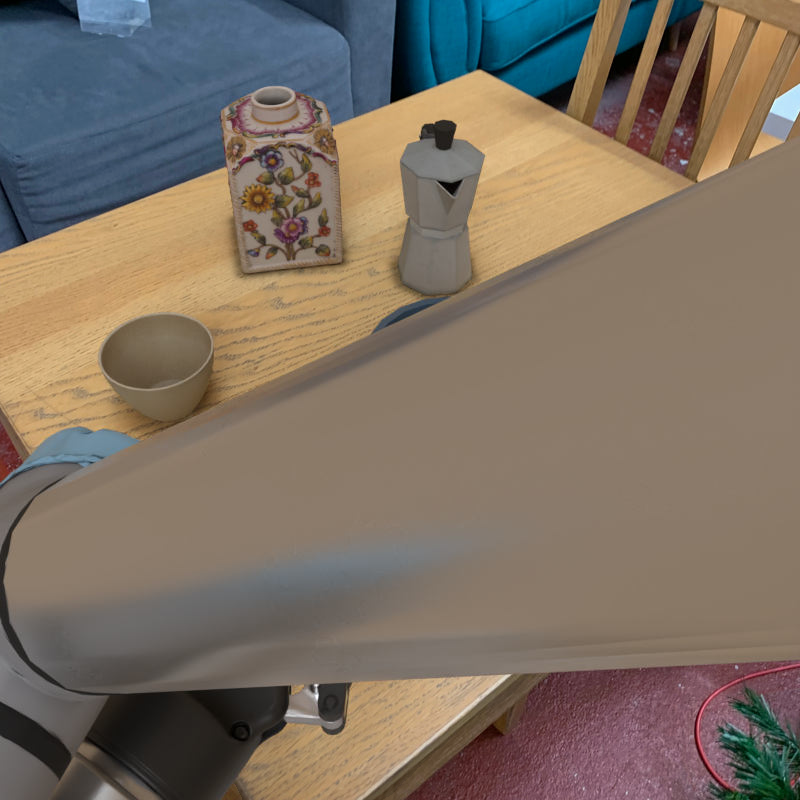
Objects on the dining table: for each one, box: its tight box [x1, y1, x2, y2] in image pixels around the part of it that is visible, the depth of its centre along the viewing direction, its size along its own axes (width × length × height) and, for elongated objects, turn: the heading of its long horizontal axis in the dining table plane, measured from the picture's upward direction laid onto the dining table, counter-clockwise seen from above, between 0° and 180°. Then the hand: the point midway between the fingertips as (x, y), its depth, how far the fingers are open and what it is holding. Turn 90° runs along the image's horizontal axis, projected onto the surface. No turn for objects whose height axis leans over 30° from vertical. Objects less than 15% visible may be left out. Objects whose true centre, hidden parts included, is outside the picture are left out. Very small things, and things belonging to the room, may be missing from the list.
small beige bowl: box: [97, 311, 215, 423], centre depth 70 cm, size 10×10×7 cm
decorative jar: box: [218, 85, 344, 274], centre depth 84 cm, size 12×12×18 cm
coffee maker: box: [397, 119, 486, 297], centre depth 82 cm, size 15×9×18 cm, turn 9°
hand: (404, 433), depth 47 cm, fingers closed on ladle, 2 cm apart
